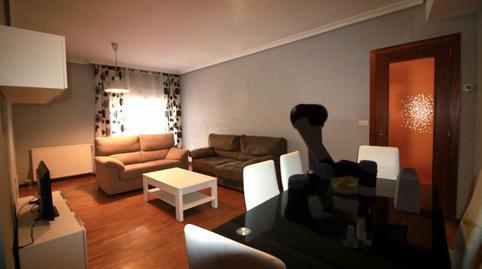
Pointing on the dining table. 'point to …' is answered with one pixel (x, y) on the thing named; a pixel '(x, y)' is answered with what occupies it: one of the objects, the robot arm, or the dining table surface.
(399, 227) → the flask
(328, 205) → the plant pot
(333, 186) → the fruit bowl
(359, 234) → the cap
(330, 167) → the robot arm
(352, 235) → the post
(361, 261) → the dining table surface
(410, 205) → the milk
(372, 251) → the dining table surface
